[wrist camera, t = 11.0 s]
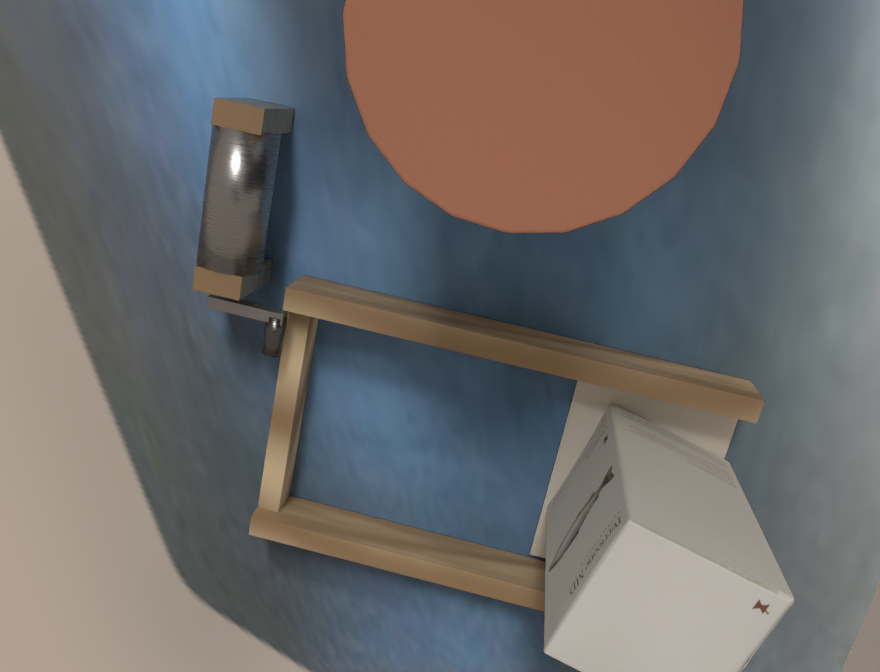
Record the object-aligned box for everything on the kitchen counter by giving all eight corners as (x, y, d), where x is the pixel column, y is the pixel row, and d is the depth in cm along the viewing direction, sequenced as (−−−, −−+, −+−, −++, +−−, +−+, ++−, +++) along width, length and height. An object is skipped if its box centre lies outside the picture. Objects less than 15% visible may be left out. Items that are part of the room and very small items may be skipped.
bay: (303, 275, 43) (285, 287, 40) (750, 380, 41) (764, 401, 38) (267, 508, 47) (248, 534, 44) (669, 612, 45) (677, 646, 43)
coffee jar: (543, 224, 40) (535, 312, 23) (389, 73, 39) (262, 48, 22) (706, 60, 37) (838, 22, 20) (544, -109, 36) (536, -300, 19)
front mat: (580, 368, 42) (580, 369, 42) (741, 406, 42) (742, 408, 41) (530, 552, 46) (529, 554, 45) (677, 590, 45) (677, 592, 45)
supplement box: (609, 396, 42) (631, 513, 30) (733, 461, 42) (804, 603, 30) (541, 505, 44) (537, 654, 32) (659, 566, 44) (699, 738, 32)
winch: (241, 96, 41) (204, 95, 36) (334, 117, 40) (307, 118, 36) (214, 318, 44) (176, 342, 40) (299, 338, 44) (270, 364, 39)
